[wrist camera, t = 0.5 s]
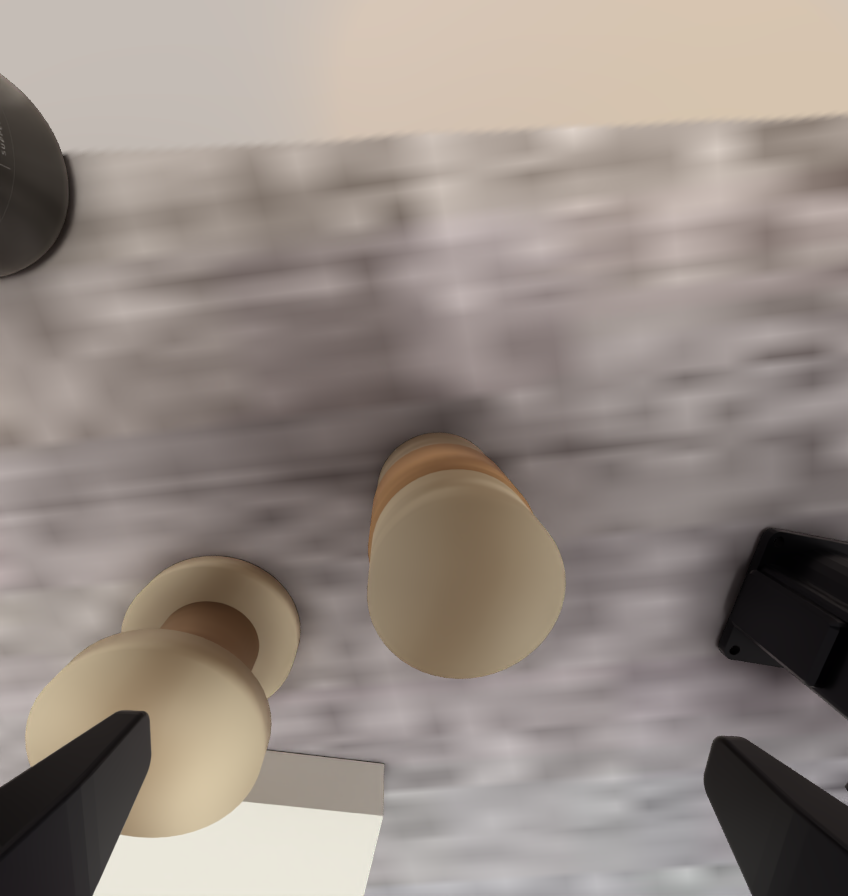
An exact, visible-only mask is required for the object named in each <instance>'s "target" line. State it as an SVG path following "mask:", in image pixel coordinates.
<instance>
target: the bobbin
mask: <svg viewBox="0 0 848 896" xmlns="http://www.w3.org/2000/svg"><path fill="white" fill-rule="evenodd" d="M299 641H300V621H299V616H298V612H297V610H296V607H295V604H294V602H293V600H292V599H291V597H290V595H289V594H288V592H287V591H286V590H285V588H284V587H283V586H282V585H281V584H280V583H279V582H278V581H277V580H276V579H275V578H274V577H272V576H271V575H270V574H269V573H267V572H266V571H264V570H263V569H261V568H259V567H257V566H255V565H253V564H251V563H248V562H245V561H243V560H240V559H235V558H231V557H223V556H203V557H195V558H191V559H187V560H184V561H181V562H179V563H176V564H174V565H172V566H170V567H169V568H167V569H165V570H164V571H162V572H161V573H160V574H158V575H157V576H156V577H155V578H154V579H153V580H152V581H151V582H150V583H149V584H148V585H147V586H146V587H145V588H144V589H143V590H142V591H141V592H140V593H139V594H138V595H137V596H136V597H135V599H134V600H133V601H132V603H131V604H130V606H129V608H128V610H127V612H126V614H125V617H124V620H123V624H122V630H121V633H119V634H115V635H112V636H109V637H107V638H104V639H102V640H99V641H98V642H96V643H94V644H92V645H90V646H89V647H87V648H86V649H84V650H83V651H82V652H80V653H79V654H78V655H77V656H76V657H75V658H74V659H73V660H72V661H71V662H70V663H69V664H68V665H67V666H66V667H65V668H64V669H63V670H61V671H60V672H59V673H58V674H57V675H56V676H55V677H54V678H53V679H52V680H51V681H50V682H49V683H48V685H47V686H46V687H45V688H44V689H43V690H42V692H41V693H40V694H39V696H38V697H37V698H36V700H35V702H34V704H33V706H32V708H31V710H30V714H29V717H28V720H27V725H26V733H25V741H26V751H27V755H28V760H29V763H30V765H31V767H32V766H34V765H35V764H37V763H38V762H40V761H41V760H43V759H44V758H46V757H47V756H49V755H50V754H52V753H53V752H55V751H57V750H58V749H60V748H61V747H63V746H64V745H66V744H67V743H69V742H70V741H72V740H73V739H75V738H76V737H78V736H80V735H81V734H83V733H84V732H86V731H87V730H89V729H90V728H92V727H93V726H95V725H96V724H98V723H99V722H101V721H103V720H104V719H106V718H107V717H109V716H110V715H112V714H113V713H115V712H117V711H120V710H136V711H145V712H147V713H148V715H149V718H150V732H151V762H150V767H149V770H148V773H147V775H146V777H145V780H144V782H143V784H142V787H141V789H140V791H139V793H138V796H137V798H136V800H135V802H134V805H133V807H132V809H131V811H130V814H129V816H128V818H127V820H126V823H125V825H124V827H123V829H122V832H121V834H120V835H125V836H132V837H143V838H160V837H171V836H177V835H183V834H186V833H190V832H194V831H197V830H200V829H202V828H205V827H207V826H209V825H211V824H213V823H215V822H217V821H219V820H221V819H222V818H224V817H225V816H226V815H228V814H229V813H231V812H232V811H233V810H234V809H235V808H236V807H237V806H239V805H240V804H241V802H242V801H243V800H244V799H245V798H246V797H247V795H248V794H249V792H250V791H251V789H252V788H253V786H254V784H255V782H256V780H257V778H258V775H259V773H260V769H261V766H262V763H263V760H264V756H265V753H266V750H267V747H268V743H269V739H270V734H271V712H270V708H269V704H268V700H267V699H268V698H269V697H270V696H272V695H273V694H274V693H275V692H276V691H277V690H278V689H279V688H280V686H281V685H282V684H283V683H284V681H285V680H286V678H287V676H288V675H289V673H290V670H291V668H292V665H293V662H294V659H295V656H296V652H297V649H298V645H299Z"/></svg>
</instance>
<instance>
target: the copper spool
mask: <svg viewBox="0 0 848 896" xmlns="http://www.w3.org/2000/svg"><path fill="white" fill-rule="evenodd" d="M368 556H369V563H370V566H369V576H368V586H367V602H368V608H369V613H370V616H371V620H372V623H373V625H374V627H375V629H376V631H377V633H378V635H379V637H380V638H381V640H382V641H383V642H384V644H385V645H386V646H387V647H388V648H389V649H390V651H391V652H392V653H393V654H395V655H396V656H397V657H398V658H399V659H401V660H402V661H403V662H405V663H407V664H408V665H410V666H411V667H413V668H416V669H418V670H420V671H422V672H425V673H428V674H431V675H434V676H439V677H444V678H455V679H464V678H475V677H482V676H486V675H490V674H494V673H496V672H499V671H502V670H504V669H507V668H509V667H510V666H512V665H514V664H516V663H518V662H519V661H521V660H522V659H524V658H525V657H527V656H528V655H529V654H530V653H532V652H533V651H534V650H535V649H536V648H537V647H538V646H539V645H540V644H541V643H542V642H543V641H544V640H545V638H546V637H547V635H548V634H549V633H550V631H551V630H552V628H553V626H554V624H555V623H556V621H557V619H558V616H559V614H560V611H561V609H562V605H563V601H564V596H565V586H566V582H565V570H564V565H563V561H562V558H561V555H560V552H559V550H558V548H557V546H556V544H555V542H554V540H553V539H552V537H551V536H550V535H549V533H548V532H547V530H546V529H545V528H544V527H543V526H542V524H541V523H540V522H539V521H538V519H537V518H536V517H535V516H534V515H533V512H532V510H531V508H530V506H529V505H528V503H527V501H526V500H525V499H524V497H523V496H522V494H521V493H520V492H519V491H518V490H517V489H516V487H515V486H514V485H513V484H512V483H511V481H510V480H509V479H508V478H507V477H506V476H505V474H504V473H503V472H502V471H501V470H500V468H499V467H498V466H497V465H496V464H495V463H494V462H493V461H492V460H490V459H489V458H488V457H487V456H485V455H484V453H483V452H482V451H481V450H480V449H479V448H478V447H477V446H475V445H474V444H473V443H472V442H470V441H468V440H466V439H465V438H462V437H460V436H457V435H453V434H449V433H427V434H423V435H419V436H417V437H414V438H412V439H410V440H408V441H406V442H404V443H403V444H402V445H400V446H399V447H398V448H397V449H396V450H395V451H394V452H392V454H391V455H390V456H389V457H388V459H387V460H386V462H385V464H384V465H383V468H382V470H381V472H380V476H379V479H378V486H377V490H376V493H375V497H374V500H373V508H372V516H371V525H370V534H369V542H368Z"/></svg>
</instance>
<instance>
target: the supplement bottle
mask: <svg viewBox="0 0 848 896" xmlns="http://www.w3.org/2000/svg"><path fill="white" fill-rule="evenodd" d="M68 201H69V184H68V175H67V170H66V165H65V162H64V158H63V155H62V152H61V149H60V147H59V144H58V142H57V140H56V138H55V136H54V134H53V132H52V130H51V128H50V127H49V125H48V123H47V122H46V120H45V119H44V117H43V116H42V114H41V113H40V112H39V110H38V109H37V108H36V107H35V106H34V104H33V103H32V102H31V101H30V100H29V99H28V98H27V97H26V95H25V94H24V93H23V92H22V91H21V90H19V89H18V88H17V87H16V86H15V85H14V84H13V83H11V82H10V81H9V80H8V79H7V78H5V77H4V76H3V75H1V74H0V277H1V276H5V275H9V274H12V273H15V272H18V271H20V270H22V269H24V268H26V267H28V266H30V265H31V264H33V263H34V262H36V261H37V260H38V259H39V258H41V257H42V256H43V255H44V254H45V253H46V252H47V251H48V250H49V249H50V247H51V246H52V245H53V244H54V242H55V241H56V239H57V237H58V236H59V234H60V231H61V229H62V227H63V224H64V221H65V218H66V214H67V209H68Z"/></svg>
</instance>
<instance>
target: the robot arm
mask: <svg viewBox="0 0 848 896" xmlns="http://www.w3.org/2000/svg"><path fill="white" fill-rule="evenodd" d="M776 538H777V540H776V541H775V542H774V540H775V539H776ZM773 542H774V543H773ZM732 646H733V647H732ZM718 647H719V650H720V651H721V652H722V653H723V654H724V655H725V656H726V657H727V658H728V659H731V660H738V661H744V662H750V663H757V664H763V665H770V666H776V667H783V668H785V669H787V670H788V671H789V672H790V673H791V674H793V675H794V676H795V677H796V678H798V679H799V680H800V681H801V682H802V683H804V684H805V685H806V686H807V687H809V688H810V689H811V690H812V691H813V692H815V693H816V694H817V695H818V696H820V697H821V698H822V699H823V700H824V701H826V702H827V703H828V704H829V705H830V706H832V707H833V708H834V709H835V710H836V711H838V712H839V713H840V714H841V715H842V716H844V717H845V718H846V719H847V720H848V542H844V541H839V540H833V539H828V538H823V537H818V536H813V535H808V534H802V533H797V532H792V531H787V530H782V529H777V528H771V529H769V530H767V531H766V532H764V534H763V535H762V537H761V539H760V542H759V544H758V547H757V549H756V552H755V554H754V557H753V559H752V562H751V564H750V567H749V569H748V572H747V574H746V577H745V579H744V582H743V584H742V587H741V589H740V592H739V595H738V597H737V600H736V602H735V605H734V607H733V610H732V612H731V615H730V617H729V620H728V622H727V625H726V627H725V630H724V632H723V635H722V637H721V640H720V642H719V646H718ZM731 647H732V648H731ZM730 648H731V649H730ZM150 762H151V732H150V718H149V715H148V713H147V712H145V711H136V710H120V711H117V712H115V713H113V714H112V715H110V716H109V717H107V718H106V719H104V720H103V721H101V722H99V723H98V724H96V725H95V726H93V727H92V728H90V729H89V730H87V731H86V732H84V733H83V734H81V735H80V736H78V737H76V738H75V739H73V740H72V741H70V742H69V743H67V744H66V745H64V746H63V747H61V748H60V749H58V750H57V751H55V752H53V753H52V754H50V755H49V756H47V757H46V758H44V759H43V760H41V761H40V762H38V763H37V764H35V765H34V766H32V767H30V768H29V769H27V770H26V771H24V772H23V773H21V774H20V775H18V776H17V777H15V778H14V779H12V780H11V781H9V782H7V783H6V784H4V785H3V786H1V787H0V896H93V894H94V892H95V890H96V887H97V885H98V883H99V881H100V879H101V877H102V874H103V872H104V870H105V868H106V865H107V863H108V861H109V859H110V856H111V854H112V852H113V850H114V847H115V845H116V843H117V841H118V838H119V836H120V834H121V832H122V829H123V827H124V825H125V823H126V820H127V818H128V816H129V814H130V811H131V809H132V807H133V805H134V802H135V800H136V798H137V796H138V793H139V791H140V789H141V787H142V784H143V782H144V780H145V777H146V775H147V773H148V770H149V767H150ZM704 786H705V790H706V793H707V796H708V798H709V801H710V803H711V805H712V807H713V809H714V812H715V814H716V816H717V818H718V821H719V823H720V825H721V827H722V829H723V832H724V834H725V836H726V838H727V841H728V843H729V845H730V847H731V850H732V852H733V854H734V856H735V858H736V861H737V863H738V865H739V867H740V870H741V872H742V874H743V876H744V878H745V881H746V883H747V885H748V887H749V890H750V892H751V894H752V896H848V806H847V805H845V804H844V803H842V802H841V801H839V800H838V799H836V798H835V797H833V796H832V795H830V794H829V793H827V792H826V791H824V790H823V789H821V788H820V787H818V786H816V785H815V784H813V783H812V782H810V781H809V780H807V779H806V778H804V777H803V776H801V775H800V774H798V773H797V772H795V771H794V770H792V769H791V768H789V767H788V766H786V765H785V764H783V763H782V762H780V761H779V760H777V759H776V758H774V757H773V756H771V755H770V754H768V753H767V752H765V751H763V750H762V749H760V748H759V747H757V746H756V745H754V744H753V743H751V742H750V741H748V740H747V739H745V738H742V737H737V736H718V737H716V738H715V739H714V740H713V743H712V746H711V750H710V753H709V757H708V761H707V765H706V768H705V772H704ZM845 788H846V789H847V791H848V782H847V784H846V785H845Z"/></svg>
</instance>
